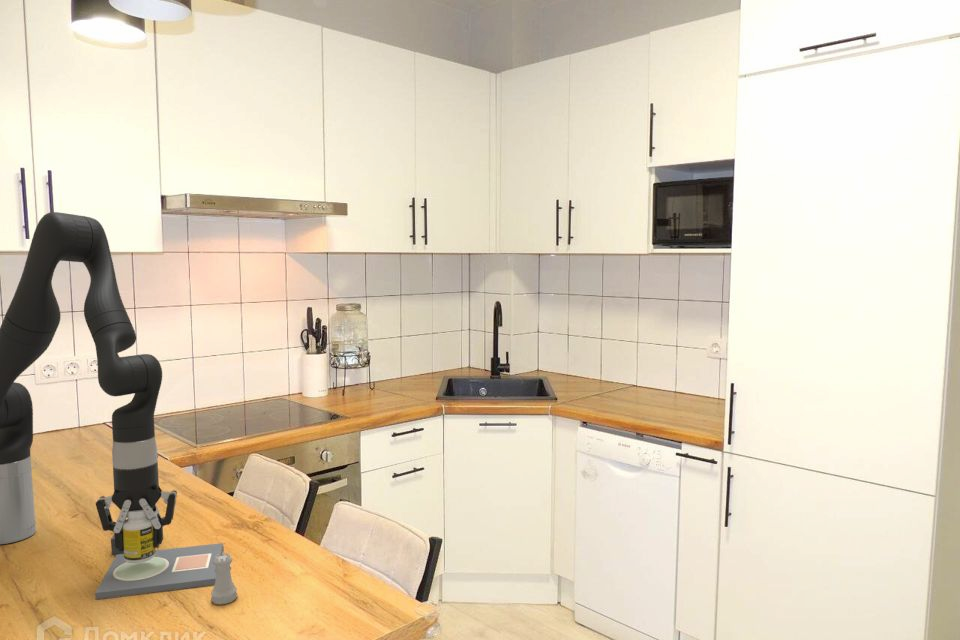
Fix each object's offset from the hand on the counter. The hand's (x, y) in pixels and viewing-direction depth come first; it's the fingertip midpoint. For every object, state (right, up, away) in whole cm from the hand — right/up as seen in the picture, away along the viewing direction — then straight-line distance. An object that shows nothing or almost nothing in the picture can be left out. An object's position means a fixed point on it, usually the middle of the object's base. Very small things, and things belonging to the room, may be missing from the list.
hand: (139, 547), depth 130 cm
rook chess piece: (+19, -6, -9) cm, 22 cm away
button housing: (-7, -4, +13) cm, 15 cm away
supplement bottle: (0, -2, 0) cm, 2 cm away
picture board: (+4, -5, +2) cm, 7 cm away
